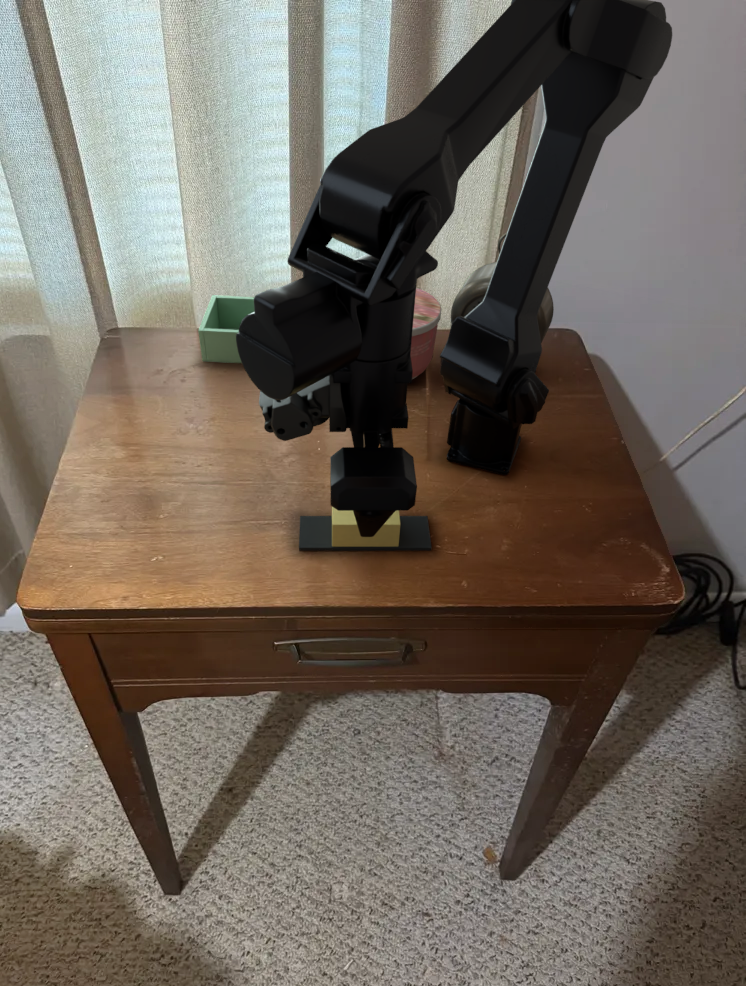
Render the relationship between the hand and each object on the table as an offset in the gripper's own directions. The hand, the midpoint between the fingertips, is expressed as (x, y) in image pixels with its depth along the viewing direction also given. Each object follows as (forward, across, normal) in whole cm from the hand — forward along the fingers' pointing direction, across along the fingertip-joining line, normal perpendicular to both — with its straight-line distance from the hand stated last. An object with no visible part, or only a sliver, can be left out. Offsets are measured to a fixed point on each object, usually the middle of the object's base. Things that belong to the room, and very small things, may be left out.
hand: (365, 498), depth 66 cm
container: (+5, -28, +4) cm, 29 cm away
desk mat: (+5, 0, 0) cm, 5 cm away
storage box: (+5, -32, -11) cm, 34 cm away
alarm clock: (+5, -28, +16) cm, 33 cm away
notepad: (+4, 0, 0) cm, 4 cm away
